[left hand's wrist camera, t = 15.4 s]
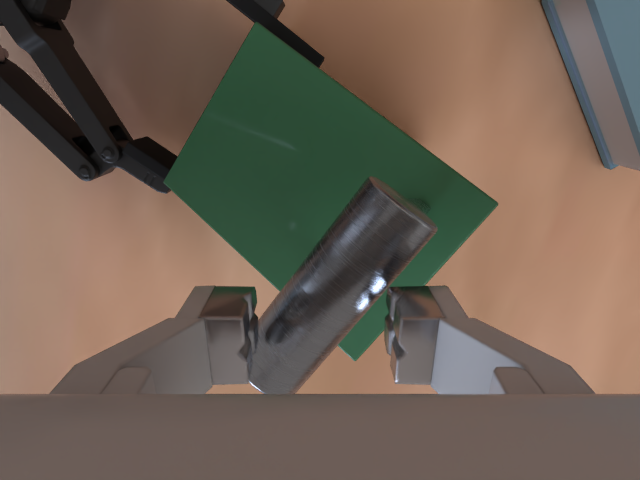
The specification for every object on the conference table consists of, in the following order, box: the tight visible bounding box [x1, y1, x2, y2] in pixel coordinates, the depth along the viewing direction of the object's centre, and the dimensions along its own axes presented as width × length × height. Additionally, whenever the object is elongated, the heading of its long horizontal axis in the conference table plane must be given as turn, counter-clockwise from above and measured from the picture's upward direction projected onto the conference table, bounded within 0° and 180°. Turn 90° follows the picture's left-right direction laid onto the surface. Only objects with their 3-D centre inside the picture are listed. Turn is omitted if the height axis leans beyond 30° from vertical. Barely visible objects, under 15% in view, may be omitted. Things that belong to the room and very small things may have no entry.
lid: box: [164, 22, 498, 394], centre depth 15 cm, size 14×10×9 cm
